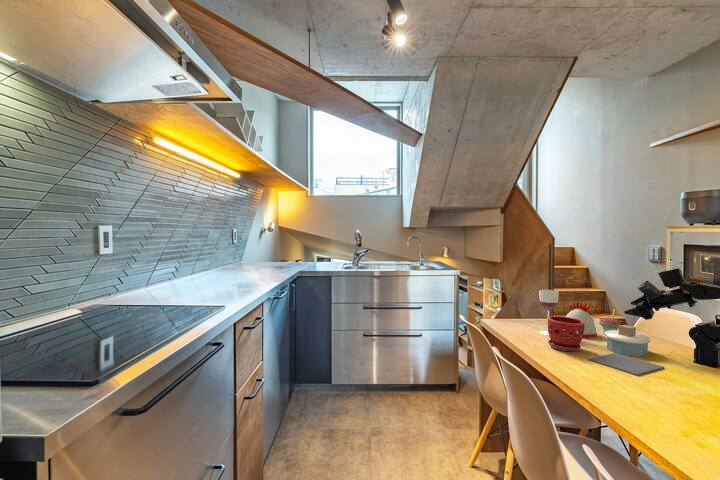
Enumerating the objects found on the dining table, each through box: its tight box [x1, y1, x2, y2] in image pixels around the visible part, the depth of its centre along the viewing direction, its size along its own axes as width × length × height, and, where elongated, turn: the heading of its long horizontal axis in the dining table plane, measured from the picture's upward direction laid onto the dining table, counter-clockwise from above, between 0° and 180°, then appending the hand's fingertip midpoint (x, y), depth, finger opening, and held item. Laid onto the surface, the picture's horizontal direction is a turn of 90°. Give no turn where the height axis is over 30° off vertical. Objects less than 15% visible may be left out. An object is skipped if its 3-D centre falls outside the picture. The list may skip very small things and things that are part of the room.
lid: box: [604, 324, 651, 344], centre depth 144 cm, size 15×15×5 cm
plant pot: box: [547, 315, 585, 352], centre depth 147 cm, size 13×13×12 cm
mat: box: [588, 352, 665, 377], centre depth 129 cm, size 16×16×1 cm
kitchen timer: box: [563, 301, 598, 339], centre depth 168 cm, size 14×14×15 cm
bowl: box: [606, 337, 649, 357], centre depth 144 cm, size 13×13×5 cm
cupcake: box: [598, 307, 622, 333], centre depth 170 cm, size 9×8×12 cm
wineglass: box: [538, 289, 560, 336], centre depth 168 cm, size 8×9×20 cm
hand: (627, 308), depth 150 cm, fingers open, 9 cm apart
